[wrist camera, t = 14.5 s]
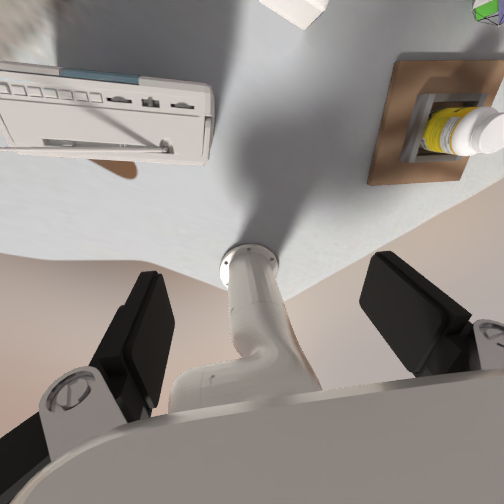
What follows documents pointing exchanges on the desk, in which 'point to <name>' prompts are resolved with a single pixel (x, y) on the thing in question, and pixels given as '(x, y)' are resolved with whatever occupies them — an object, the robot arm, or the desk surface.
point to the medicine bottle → (298, 10)
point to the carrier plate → (417, 112)
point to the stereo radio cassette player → (104, 115)
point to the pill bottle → (464, 131)
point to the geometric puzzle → (488, 9)
